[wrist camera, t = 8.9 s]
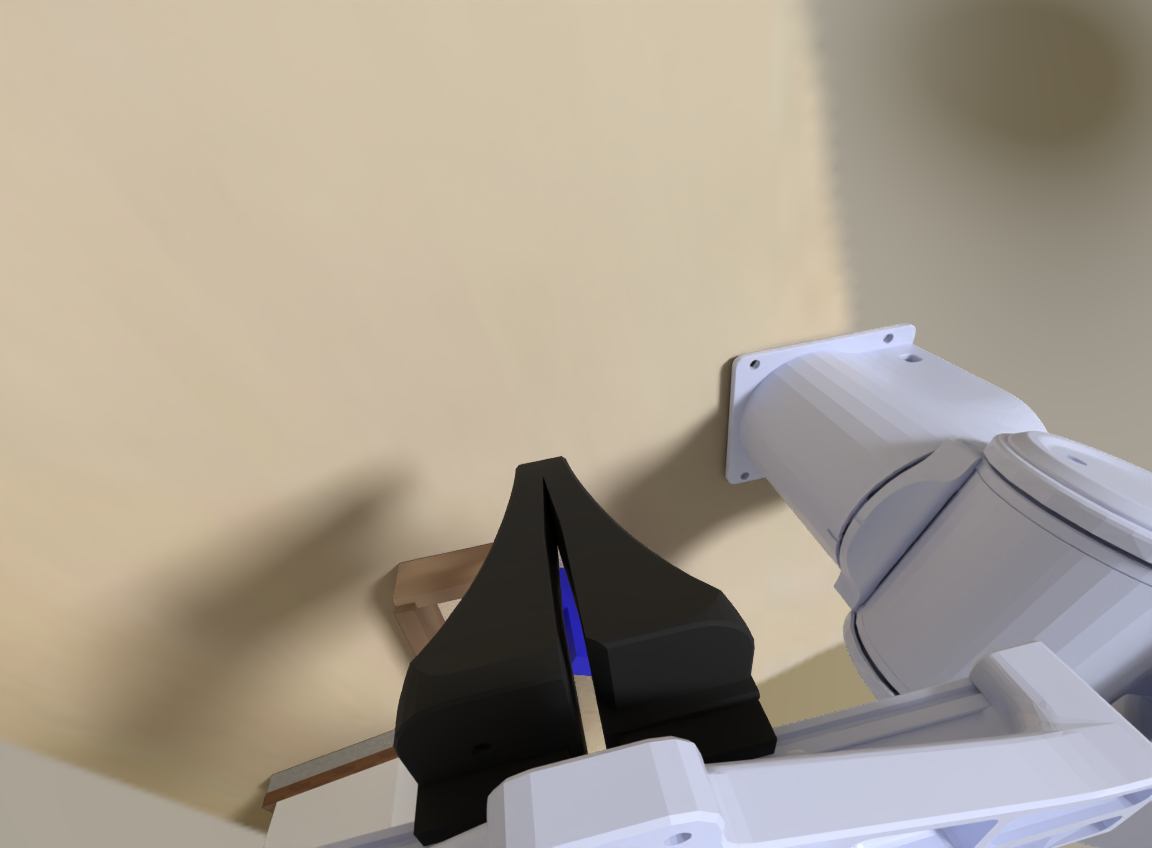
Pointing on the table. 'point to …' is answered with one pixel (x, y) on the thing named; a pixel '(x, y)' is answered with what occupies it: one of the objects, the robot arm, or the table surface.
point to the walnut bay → (433, 590)
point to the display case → (340, 796)
